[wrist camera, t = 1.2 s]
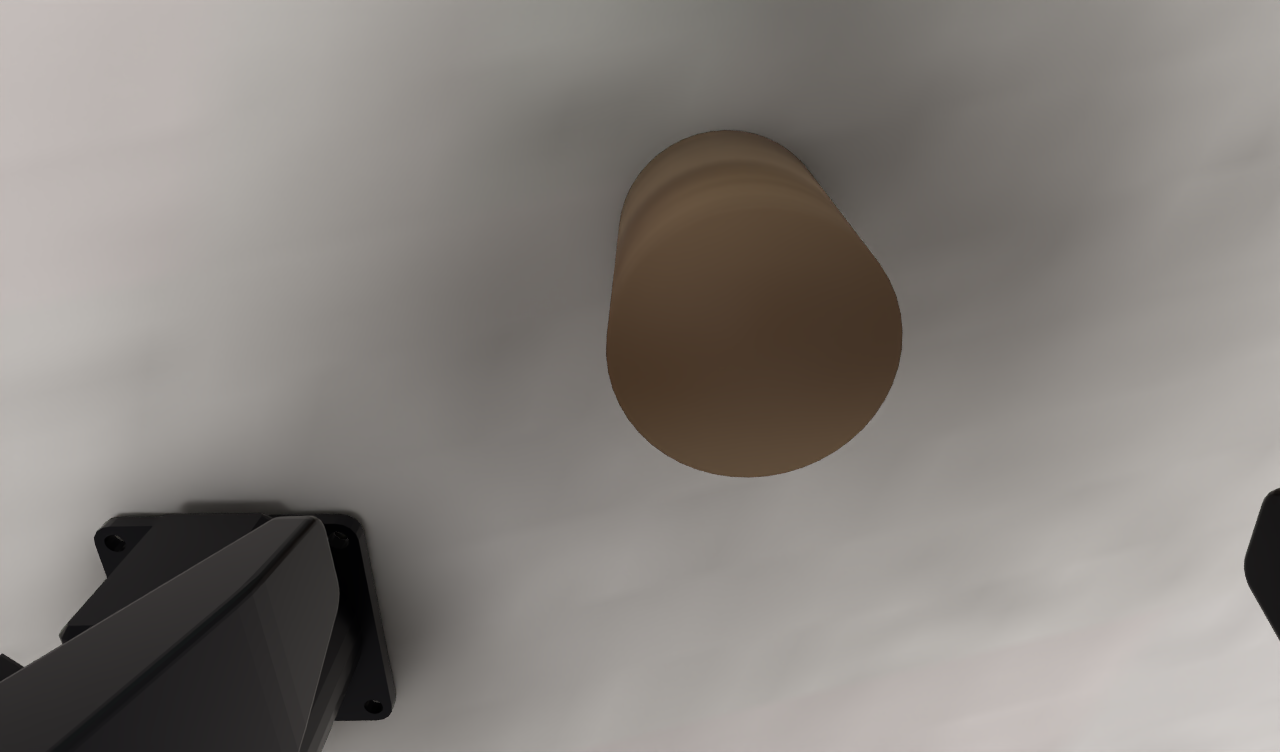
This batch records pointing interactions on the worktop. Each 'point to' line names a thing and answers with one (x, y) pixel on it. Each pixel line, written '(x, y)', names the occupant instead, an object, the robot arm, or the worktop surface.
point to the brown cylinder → (745, 311)
